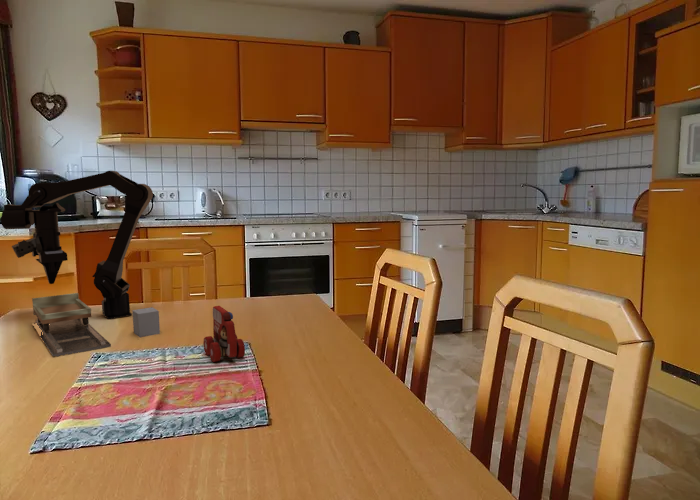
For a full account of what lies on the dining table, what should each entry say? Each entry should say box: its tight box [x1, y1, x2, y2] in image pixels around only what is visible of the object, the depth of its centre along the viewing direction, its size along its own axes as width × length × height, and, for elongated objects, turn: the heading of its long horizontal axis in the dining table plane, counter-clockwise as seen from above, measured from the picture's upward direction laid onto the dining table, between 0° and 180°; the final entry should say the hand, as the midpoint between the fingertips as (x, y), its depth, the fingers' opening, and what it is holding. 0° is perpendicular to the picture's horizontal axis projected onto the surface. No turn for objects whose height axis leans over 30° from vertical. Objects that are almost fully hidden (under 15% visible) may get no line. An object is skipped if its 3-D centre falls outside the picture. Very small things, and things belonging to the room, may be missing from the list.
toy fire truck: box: [203, 305, 246, 363], centre depth 116 cm, size 7×12×10 cm, turn 30°
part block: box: [131, 306, 161, 338], centre depth 134 cm, size 5×5×6 cm
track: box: [35, 318, 112, 357], centre depth 133 cm, size 12×34×1 cm, turn 38°
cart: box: [31, 292, 92, 331], centre depth 139 cm, size 11×16×6 cm
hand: (51, 283), depth 149 cm, fingers closed
